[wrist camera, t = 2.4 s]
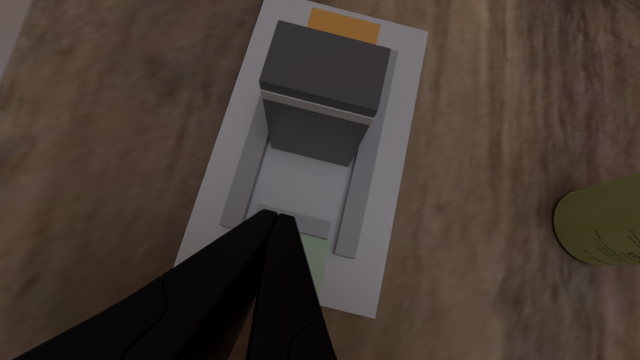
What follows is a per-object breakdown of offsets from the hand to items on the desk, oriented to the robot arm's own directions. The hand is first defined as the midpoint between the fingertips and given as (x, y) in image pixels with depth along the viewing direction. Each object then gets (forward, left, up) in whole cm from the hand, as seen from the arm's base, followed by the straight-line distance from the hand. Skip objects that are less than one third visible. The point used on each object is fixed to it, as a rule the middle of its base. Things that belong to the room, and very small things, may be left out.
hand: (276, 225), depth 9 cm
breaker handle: (+6, +4, -13) cm, 15 cm away
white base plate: (+6, +4, -13) cm, 15 cm away
